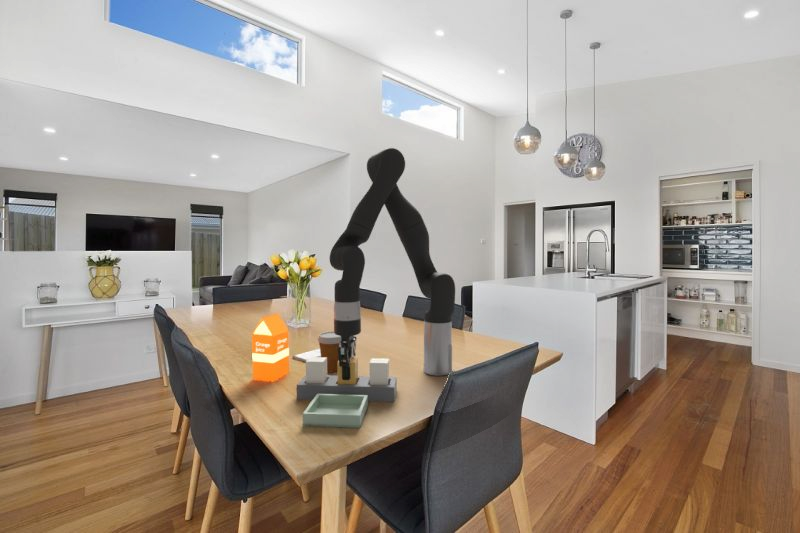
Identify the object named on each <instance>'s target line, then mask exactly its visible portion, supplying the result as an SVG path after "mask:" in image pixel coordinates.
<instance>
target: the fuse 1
mask: <svg viewBox="0 0 800 533" xmlns="http://www.w3.org/2000/svg"><path fill="white" fill-rule="evenodd" d="M305 375H306V383H324V384H325V383H326V381H327V375H328V372H327V357H310V358H309V359H308V360H307V361H306V362H305Z"/></svg>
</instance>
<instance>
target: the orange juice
mask: <svg viewBox="0 0 800 533" xmlns="http://www.w3.org/2000/svg"><path fill="white" fill-rule="evenodd" d="M289 336H290V335H289V329H288V327H287V325H286V324H285V322H284V320H283V319H282V318H281V316H280V314H279V313H278V312H276V313H274V314H271V315H266V316H264V317H261V319H260V320H259V322H258V324H257V325H256V327H255V329H254V331H253V332H252V334H251V344H252V345H251V346H252V349H251V351H252V356H251V357H252V361H251V362H252V380H253V379H254V380H253V381H260V380H263V381H262V382H269V381H271V382H270V383H275V382H277V381H278V380H279V378H280V379H281V378H284V375H285V376H286V375H288V374H289V373H290V346H289V345H290V344H289V343H290V342H289V341H290V338H289ZM274 381H275V382H274Z"/></svg>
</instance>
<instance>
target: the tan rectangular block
mask: <svg viewBox="0 0 800 533" xmlns="http://www.w3.org/2000/svg"><path fill="white" fill-rule="evenodd" d="M344 362H346V360H344ZM337 369H338V371H337V375H338V384H357V383H358V376H359V358H358V357H354V358H351V366H350V379H349V380H343V379H342V367H340V366H339V361H338V362H337Z"/></svg>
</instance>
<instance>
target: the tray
mask: <svg viewBox="0 0 800 533" xmlns="http://www.w3.org/2000/svg"><path fill="white" fill-rule="evenodd" d="M368 407H369V401H368V395H345V394H317V395H316V396H315V397H314V399H311V401H310V403H309V404H308V406H307V407H306V408H305V410H304V411H303V412H302V427H316V428H317V427H318V428H319V427H320V428H344V429H345V428H349V429H350V428H351V429H361V427H362V424H363V421H364V418H365V416H366V413H367V410H368Z"/></svg>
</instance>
